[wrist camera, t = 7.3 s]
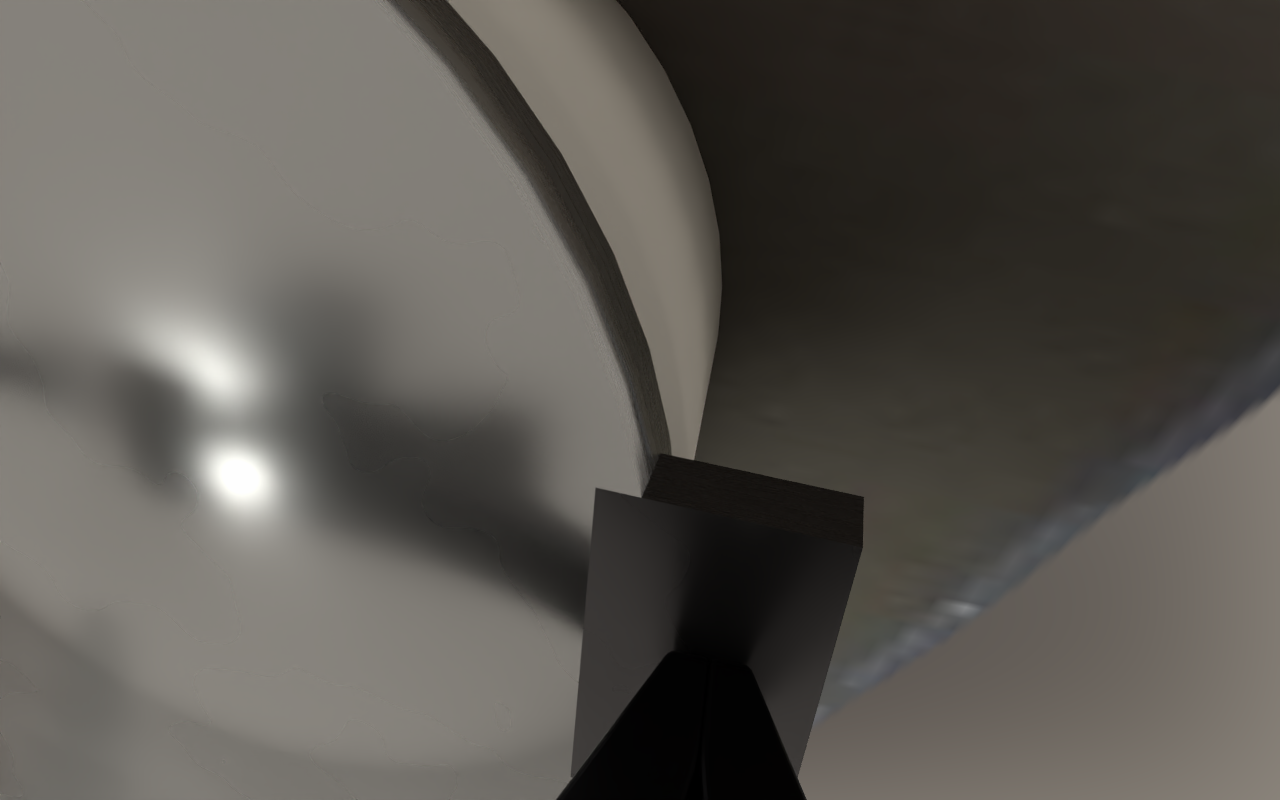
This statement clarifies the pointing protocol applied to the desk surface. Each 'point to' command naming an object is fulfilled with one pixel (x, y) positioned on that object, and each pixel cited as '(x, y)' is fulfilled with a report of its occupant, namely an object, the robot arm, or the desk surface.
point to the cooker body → (625, 174)
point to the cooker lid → (342, 427)
